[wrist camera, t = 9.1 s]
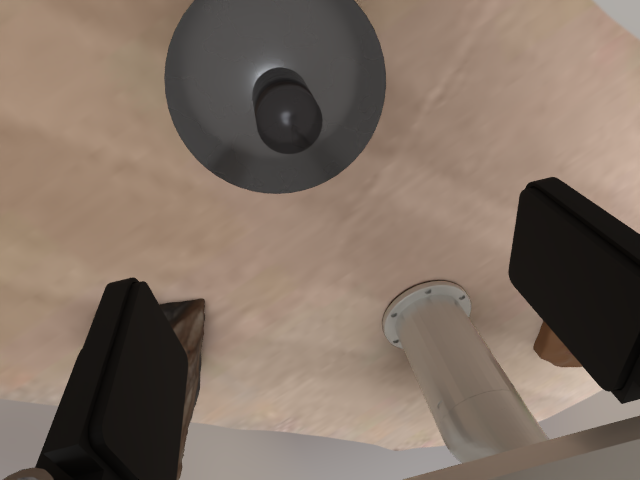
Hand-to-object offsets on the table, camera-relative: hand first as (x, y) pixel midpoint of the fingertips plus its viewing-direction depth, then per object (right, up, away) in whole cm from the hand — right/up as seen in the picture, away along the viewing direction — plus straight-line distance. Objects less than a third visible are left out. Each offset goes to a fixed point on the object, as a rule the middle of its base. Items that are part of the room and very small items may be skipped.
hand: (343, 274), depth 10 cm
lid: (-3, +9, +12) cm, 15 cm away
